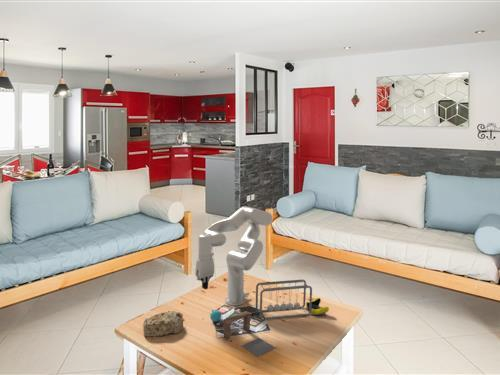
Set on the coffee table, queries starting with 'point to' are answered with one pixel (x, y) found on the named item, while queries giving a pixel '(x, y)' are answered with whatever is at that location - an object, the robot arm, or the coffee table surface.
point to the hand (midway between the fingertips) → (205, 288)
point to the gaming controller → (316, 307)
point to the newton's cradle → (283, 306)
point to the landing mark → (258, 347)
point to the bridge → (228, 321)
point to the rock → (163, 324)
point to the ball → (215, 315)
